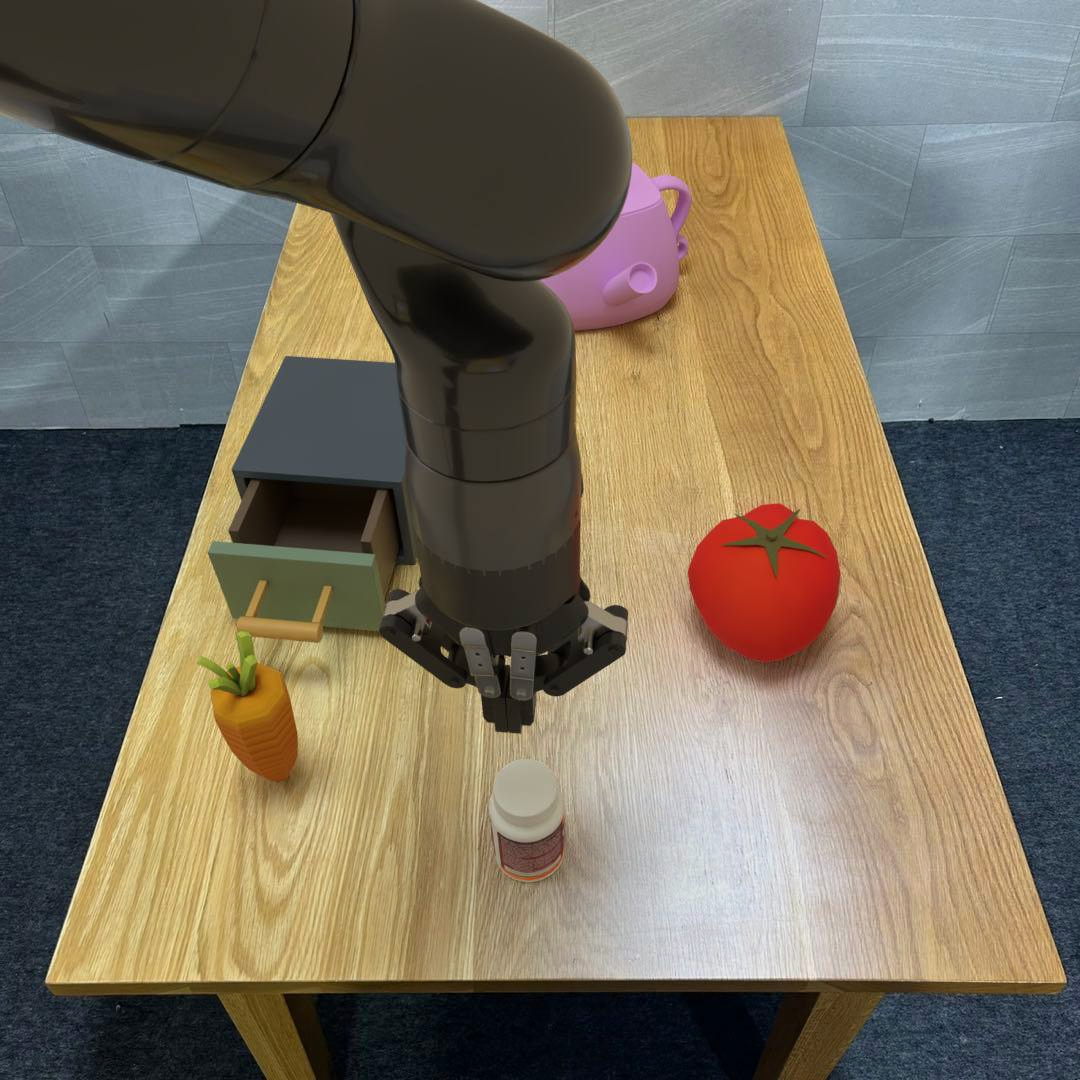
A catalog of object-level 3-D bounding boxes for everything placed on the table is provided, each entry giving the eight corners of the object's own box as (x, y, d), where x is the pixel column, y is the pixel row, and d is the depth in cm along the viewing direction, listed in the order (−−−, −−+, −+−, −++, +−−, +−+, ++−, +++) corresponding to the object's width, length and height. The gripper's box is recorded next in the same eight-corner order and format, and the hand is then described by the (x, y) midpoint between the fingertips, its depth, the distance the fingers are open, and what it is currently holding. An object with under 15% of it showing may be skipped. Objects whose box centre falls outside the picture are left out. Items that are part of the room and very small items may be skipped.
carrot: (269, 824, 70) (214, 699, 59) (232, 775, 73) (173, 648, 62) (330, 780, 73) (288, 653, 62) (292, 735, 75) (246, 605, 64)
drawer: (370, 684, 77) (355, 619, 71) (211, 669, 78) (183, 603, 73) (420, 509, 89) (410, 441, 84) (281, 498, 91) (262, 431, 85)
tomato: (824, 568, 85) (849, 478, 78) (826, 696, 77) (855, 609, 69) (688, 553, 87) (699, 463, 79) (675, 677, 78) (687, 589, 71)
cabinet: (415, 565, 86) (401, 482, 79) (257, 552, 88) (230, 469, 81) (447, 448, 96) (437, 365, 89) (305, 437, 97) (285, 355, 90)
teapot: (562, 227, 122) (561, 107, 112) (723, 277, 114) (739, 153, 104) (470, 308, 111) (460, 184, 101) (641, 369, 103) (650, 242, 93)
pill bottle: (579, 858, 68) (580, 795, 62) (519, 898, 67) (514, 837, 60) (538, 804, 71) (536, 739, 65) (480, 841, 69) (471, 777, 63)
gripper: (328, 555, 44) (382, 768, 56) (642, 577, 42) (625, 789, 55) (367, 437, 49) (408, 657, 61) (649, 454, 48) (631, 674, 60)
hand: (511, 719), depth 58 cm, fingers closed
